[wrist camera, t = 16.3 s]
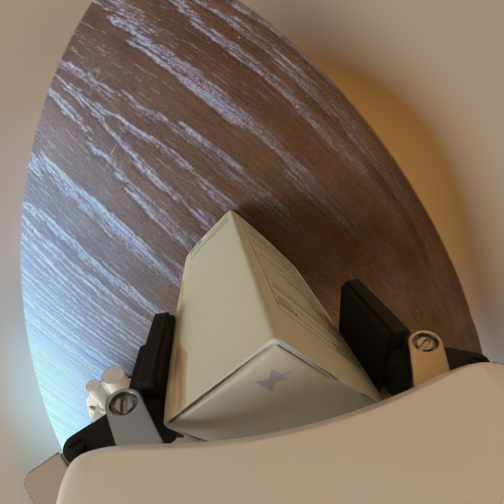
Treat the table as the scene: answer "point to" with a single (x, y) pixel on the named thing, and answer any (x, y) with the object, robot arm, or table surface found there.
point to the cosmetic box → (254, 344)
